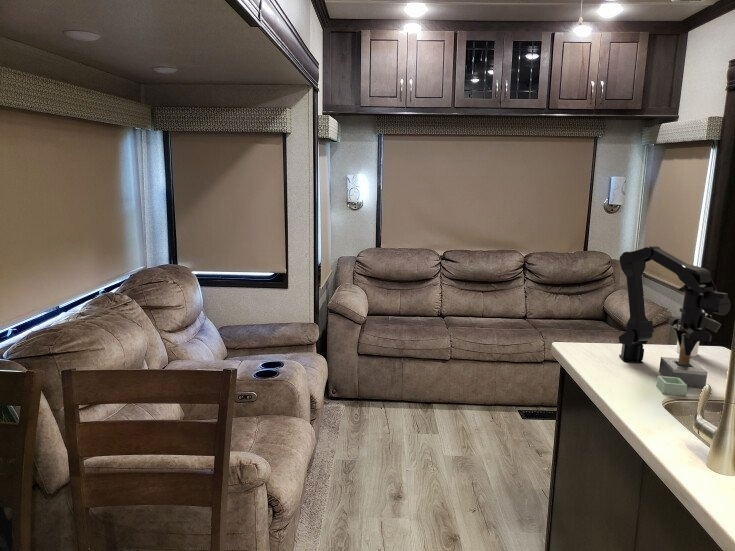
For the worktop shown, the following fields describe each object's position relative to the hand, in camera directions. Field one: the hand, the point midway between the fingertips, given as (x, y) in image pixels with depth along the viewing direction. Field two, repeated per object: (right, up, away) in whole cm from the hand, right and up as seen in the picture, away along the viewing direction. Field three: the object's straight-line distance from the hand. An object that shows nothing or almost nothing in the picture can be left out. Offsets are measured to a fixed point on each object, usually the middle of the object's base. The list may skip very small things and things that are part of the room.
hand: (685, 353), depth 184 cm
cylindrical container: (+17, -4, +30) cm, 35 cm away
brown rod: (0, -4, +1) cm, 4 cm away
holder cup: (-9, -11, -8) cm, 16 cm away
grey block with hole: (0, -9, +2) cm, 9 cm away
